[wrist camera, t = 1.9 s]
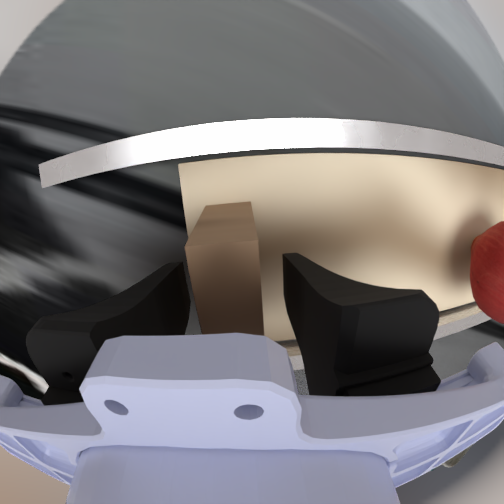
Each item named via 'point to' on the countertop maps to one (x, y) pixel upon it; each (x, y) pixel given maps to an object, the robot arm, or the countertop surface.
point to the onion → (489, 271)
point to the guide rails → (280, 136)
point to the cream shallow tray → (329, 228)
